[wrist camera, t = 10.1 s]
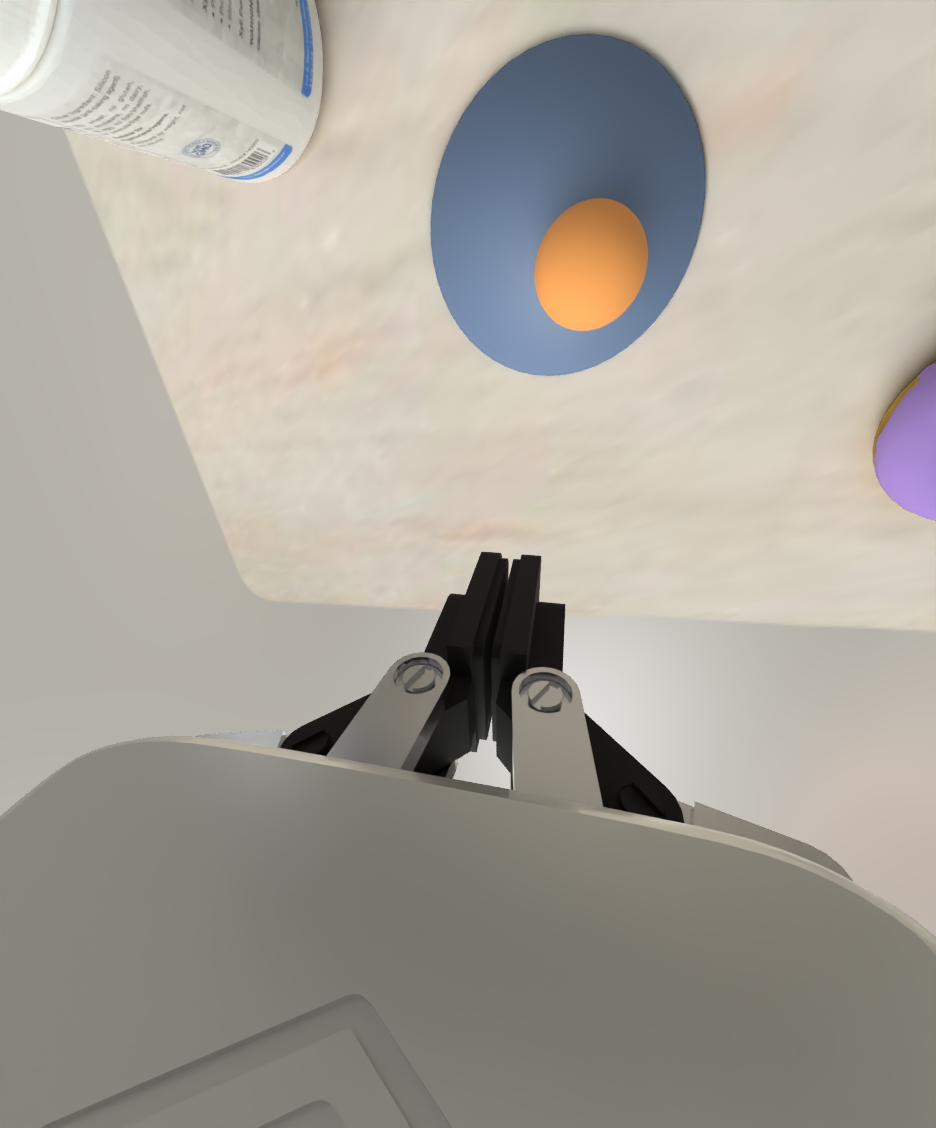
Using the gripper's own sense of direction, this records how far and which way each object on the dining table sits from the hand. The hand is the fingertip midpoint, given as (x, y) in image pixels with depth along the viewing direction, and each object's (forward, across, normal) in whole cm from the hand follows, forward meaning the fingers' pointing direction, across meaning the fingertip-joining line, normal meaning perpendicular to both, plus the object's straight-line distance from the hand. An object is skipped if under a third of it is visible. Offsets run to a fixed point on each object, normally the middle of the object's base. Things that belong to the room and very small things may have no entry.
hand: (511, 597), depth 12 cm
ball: (+15, -2, -8) cm, 17 cm away
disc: (+17, 0, -10) cm, 20 cm away
